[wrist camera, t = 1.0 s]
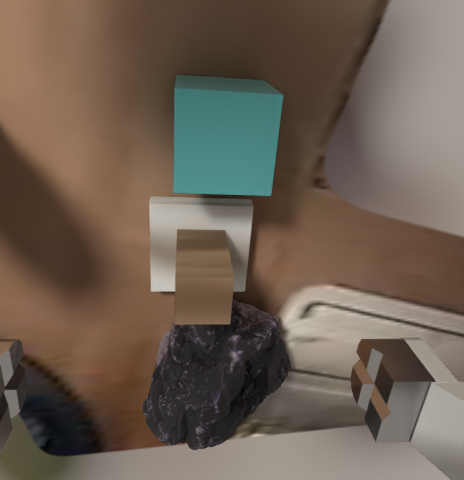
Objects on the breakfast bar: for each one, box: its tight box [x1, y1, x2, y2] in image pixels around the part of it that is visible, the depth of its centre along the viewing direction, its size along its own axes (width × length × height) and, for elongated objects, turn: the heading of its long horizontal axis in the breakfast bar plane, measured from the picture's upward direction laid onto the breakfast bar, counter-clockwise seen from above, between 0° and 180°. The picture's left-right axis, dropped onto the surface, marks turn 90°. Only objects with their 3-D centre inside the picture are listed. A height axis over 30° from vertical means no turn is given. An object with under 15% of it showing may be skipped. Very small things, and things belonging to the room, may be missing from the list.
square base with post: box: [149, 196, 254, 325], centre depth 32 cm, size 8×8×8 cm
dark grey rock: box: [143, 298, 291, 450], centre depth 37 cm, size 13×14×10 cm
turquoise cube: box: [173, 75, 283, 196], centre depth 28 cm, size 6×6×7 cm
